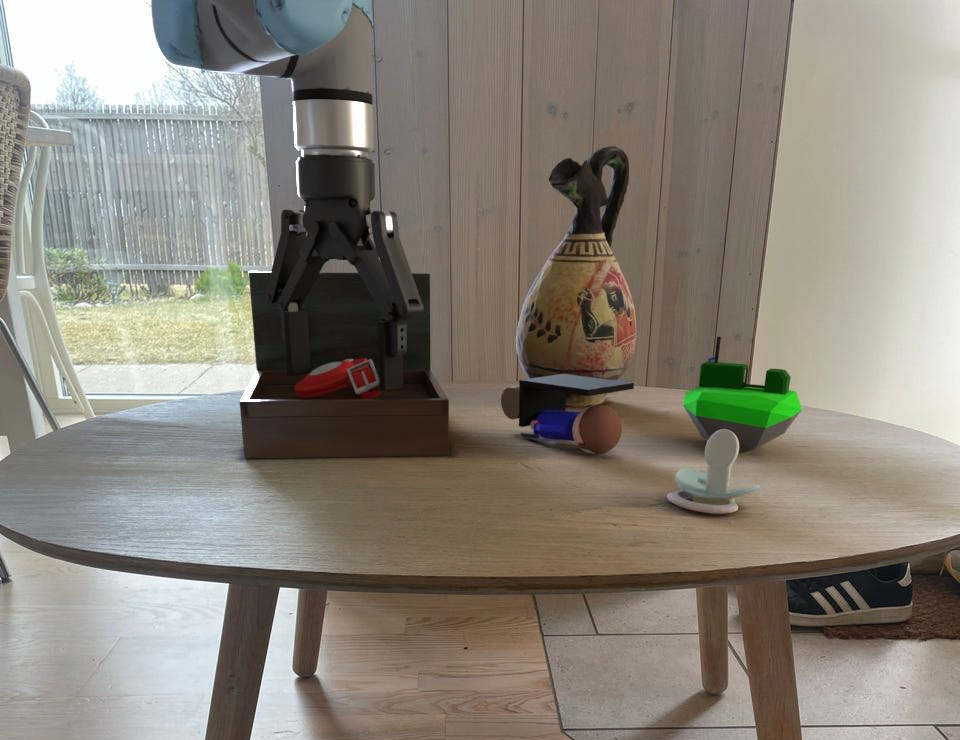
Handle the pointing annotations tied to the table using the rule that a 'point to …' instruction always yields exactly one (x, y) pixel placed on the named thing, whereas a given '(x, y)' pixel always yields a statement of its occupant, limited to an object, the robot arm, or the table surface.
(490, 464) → the table surface
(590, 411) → the figurine character
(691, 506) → the pacifier
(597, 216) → the ceramic jug
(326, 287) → the open wooden box
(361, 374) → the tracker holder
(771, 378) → the toy tugboat
